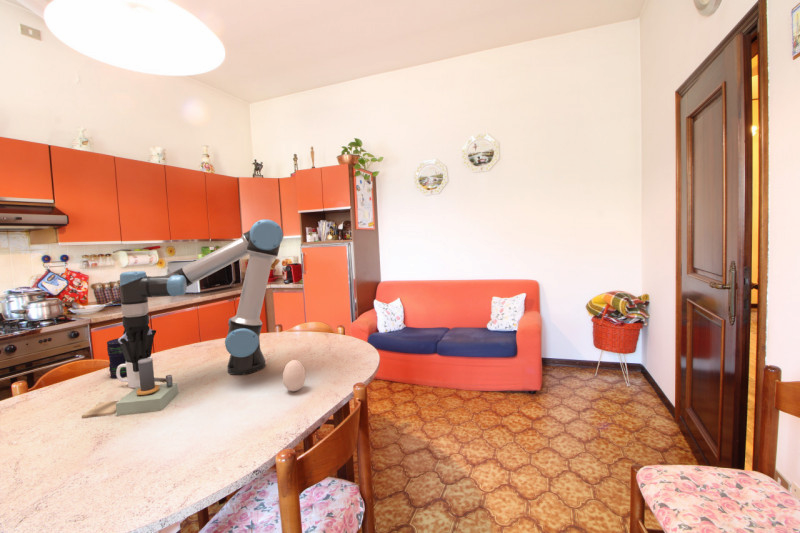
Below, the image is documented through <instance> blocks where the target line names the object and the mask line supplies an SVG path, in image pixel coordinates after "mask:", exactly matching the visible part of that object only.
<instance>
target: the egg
mask: <svg viewBox="0 0 800 533" xmlns="http://www.w3.org/2000/svg"><path fill="white" fill-rule="evenodd" d="M306 378H307V377H306V370H305V368H304V365H303V364H302V363H301V362H300V361H299V360H298V359H297V360H296V359H292V360H290V361H288V363H287V364H286V365H285V366H284V369H283V372H282V382H283V385H284V387H285V388H286V389H287V390H288V391H290V392H298V391H299V390H301V389H302V387H303V386H304V385H305V382H306Z"/></svg>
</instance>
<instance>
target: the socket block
mask: <svg viewBox="0 0 800 533" xmlns="http://www.w3.org/2000/svg"><path fill="white" fill-rule="evenodd" d="M172 383H173V386H171V387H167V384H166V383H163V384H162V383H160V384H158V385H159V390H158V391H156V392H155V393H154V394H153V395H146V396H141V395H137V392H136V391H137V390H138V389H140V388H141V387H137V388H133V390H131V391H130V392H129V393H127V394H126V395H125V396H124V397H122V398H121V399H119V400H117V401H118V402H117V403H116V416H122V415H123V416H124V415H130V414H131V415H133V414H139V413H140V414H141V413H147V412H157V411H162V410H163V409H164V408H166V406H167V405H168V404H170V402H171V401H172V400H173V399H174V398H175V397H176V396H177V395H178V394H179V387H178V386H179V385H178V382H172Z"/></svg>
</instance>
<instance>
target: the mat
mask: <svg viewBox="0 0 800 533" xmlns="http://www.w3.org/2000/svg"><path fill="white" fill-rule="evenodd" d="M118 401H119V400H115V401H114V400H113V401H104V402H99V403H97V404H96V405H95V406H93V407H92V408H90V409H89V410H88V411H86V412H84V413H83V414H82V415H81V419H85V418H93V417H102V416H103V417H104V416H113V415H115V414H117V412H116V403H117V402H118Z"/></svg>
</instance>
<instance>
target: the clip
mask: <svg viewBox="0 0 800 533" xmlns="http://www.w3.org/2000/svg"><path fill="white" fill-rule="evenodd" d="M154 381H155V382H158V383H165V384H167V387H171V386H173V383H174V382H173V375H172V374H167V375H165V377H154Z"/></svg>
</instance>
